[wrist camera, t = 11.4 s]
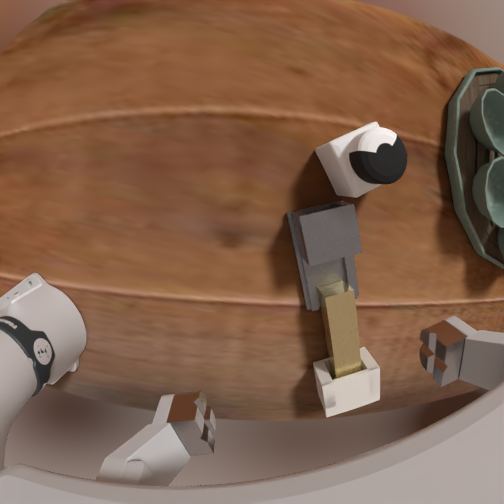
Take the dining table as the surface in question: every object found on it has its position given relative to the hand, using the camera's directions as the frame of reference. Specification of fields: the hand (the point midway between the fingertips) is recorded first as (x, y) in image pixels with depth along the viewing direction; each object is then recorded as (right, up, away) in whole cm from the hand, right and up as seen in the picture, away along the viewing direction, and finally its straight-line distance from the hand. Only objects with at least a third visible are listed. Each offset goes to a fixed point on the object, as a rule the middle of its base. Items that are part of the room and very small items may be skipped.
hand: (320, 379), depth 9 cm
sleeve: (+8, +4, +31) cm, 32 cm away
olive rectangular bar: (+11, -8, +33) cm, 35 cm away
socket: (+13, -15, +36) cm, 41 cm away
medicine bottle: (+11, +17, +29) cm, 35 cm away
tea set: (+48, +21, +30) cm, 60 cm away
